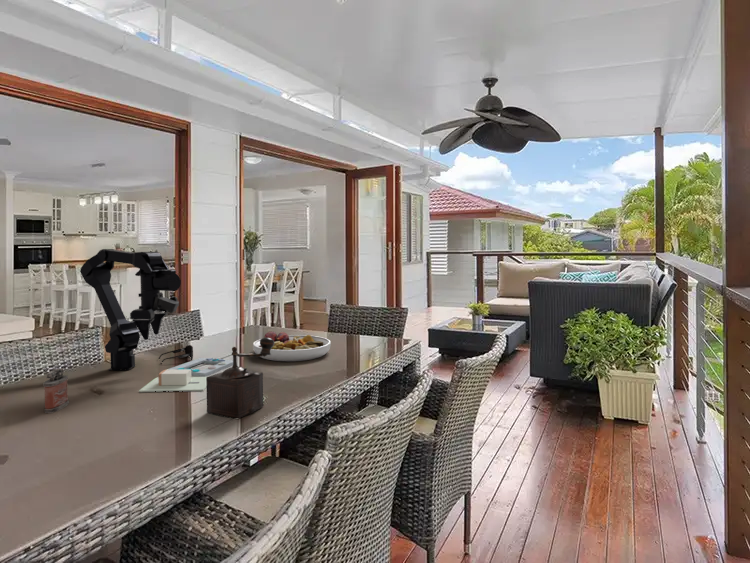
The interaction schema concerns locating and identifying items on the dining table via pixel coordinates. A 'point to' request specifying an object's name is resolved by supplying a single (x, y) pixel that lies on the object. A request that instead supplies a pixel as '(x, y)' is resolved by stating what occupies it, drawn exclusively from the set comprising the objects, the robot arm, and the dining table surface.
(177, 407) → the dining table surface
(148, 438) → the dining table surface
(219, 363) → the electronic device
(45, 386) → the lighter
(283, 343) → the bowl
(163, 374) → the block
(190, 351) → the sunglasses
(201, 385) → the mat
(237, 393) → the manual coffee grinder
